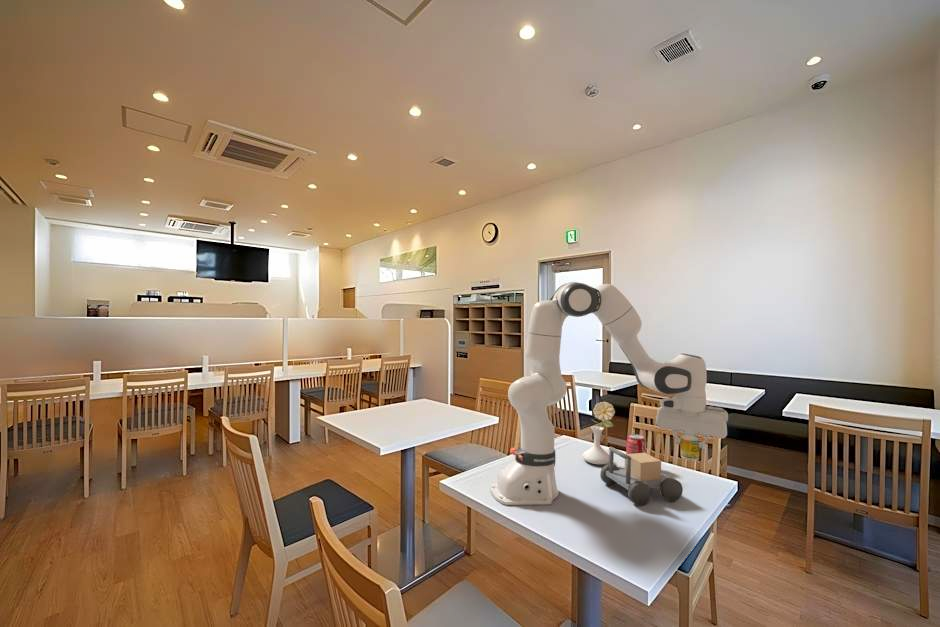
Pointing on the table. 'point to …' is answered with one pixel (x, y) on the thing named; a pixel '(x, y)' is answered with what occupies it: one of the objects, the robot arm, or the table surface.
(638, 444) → the soda can
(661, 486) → the trolley
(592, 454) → the flower in vase
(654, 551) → the table surface
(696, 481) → the table surface
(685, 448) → the supplement bottle
